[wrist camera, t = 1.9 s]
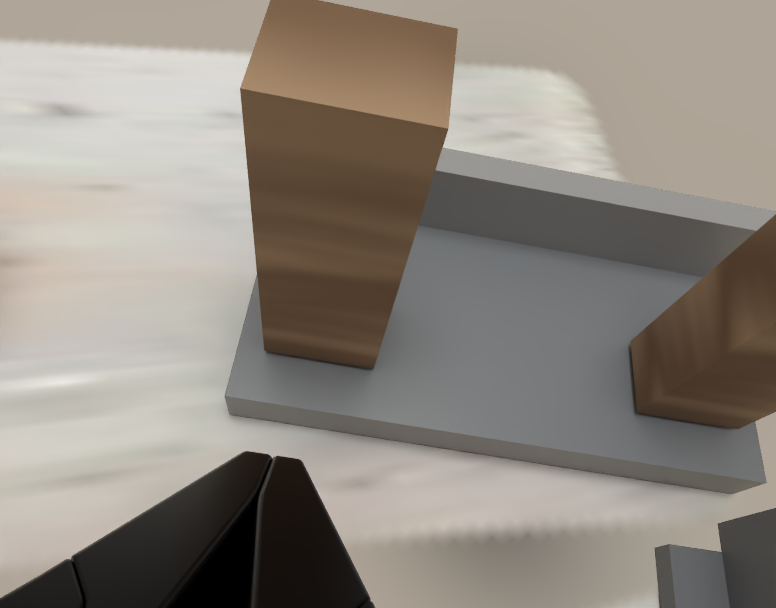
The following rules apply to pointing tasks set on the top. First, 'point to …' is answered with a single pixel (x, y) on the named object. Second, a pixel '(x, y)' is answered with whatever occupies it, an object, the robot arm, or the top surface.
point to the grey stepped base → (525, 329)
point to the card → (723, 568)
